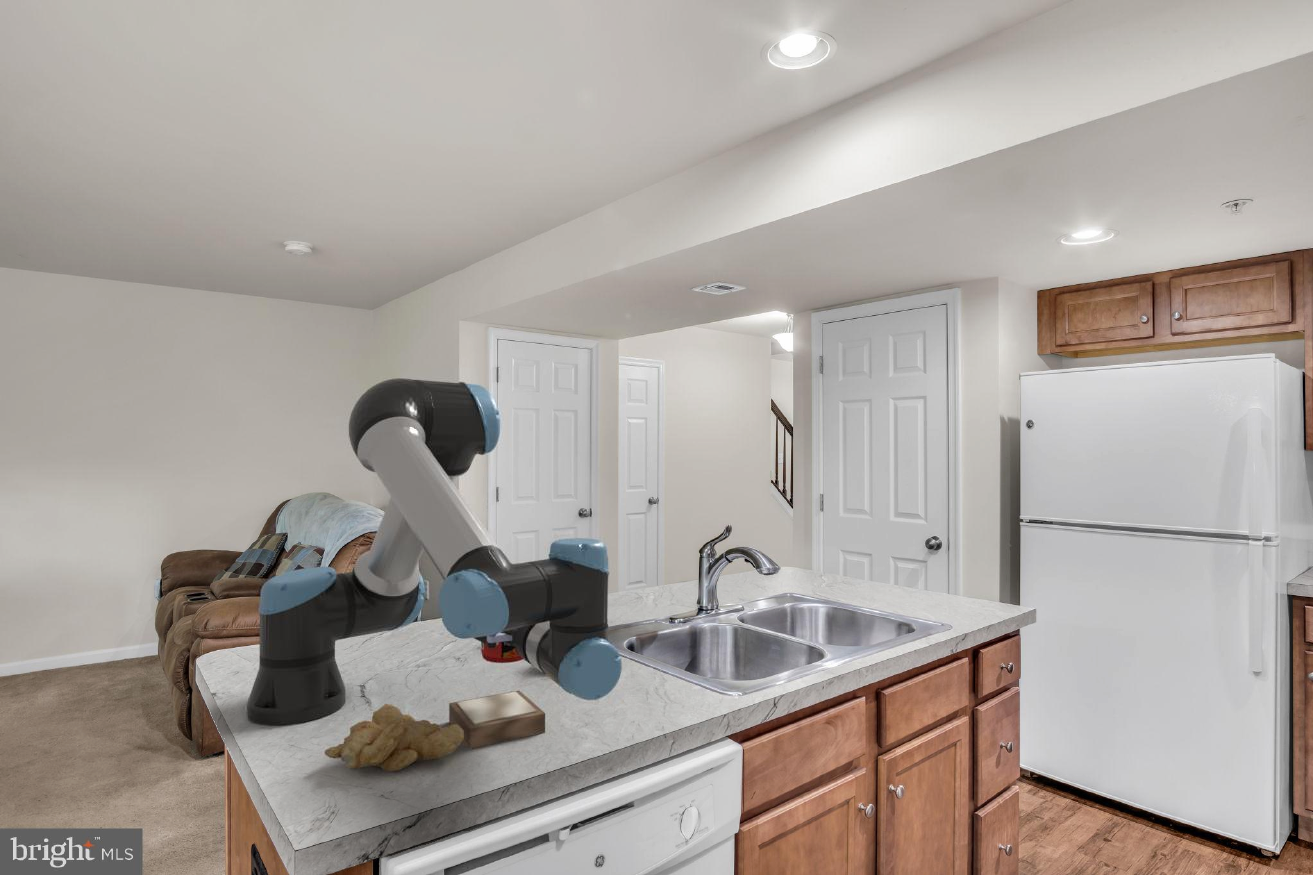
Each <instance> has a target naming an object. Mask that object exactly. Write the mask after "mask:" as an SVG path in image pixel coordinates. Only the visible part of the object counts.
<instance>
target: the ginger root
mask: <svg viewBox="0 0 1313 875" xmlns="http://www.w3.org/2000/svg"><path fill="white" fill-rule="evenodd" d="M371 718H372V719H371V720H362V721H359V722H357V723H355V724H353V725H352V726H351V727H350V729H349V731H350V733H349V735H348V736H346V737H345V738H343V740H344V741H343V743H339V744H338V745H336V746H332V747H329V748H327V749H326V750H325V751H324V754H325V756H327V757H329V758H330V759H331V758H332V759H339V758H340V759H341V760H342V761H343V762H345V763H346V765H347V768H348V769H349V770H357V769H359V768H363V767H372V766H378V767H381V768H382V769H383V770H384V771H387V772H391V773H392V772H398V771H400V770H401V769H404V768H406V767H407V766H409V765H411V764H412V763H414V762H416V761H427V760H428V761H429V760H434V759H437V760H438V759H440V758H443V757H445V756H447V755H450V754H452V753H454V752H455V751H456V749H457V748H458V747H459V746H461V744H462V742H463V741H464V740H463V739H464V731H463V729H462V728H461V727H460V726H459V725H458V724H453V725H451V724H449V725H447V726H444V727H442V728H440V726H439V724H437V723H431V722H430V721H429V720H427V719H421V720H415V718H414V717H413V716H411V715H410V714H403V713H402V712H401V709H399V708H398V707H397V706H394V705H393V704H390V703H384V705H382V706H380V707H379V708H378V709H377V710H376V711H373V713H372V717H371Z"/></svg>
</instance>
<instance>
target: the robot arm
mask: <svg viewBox="0 0 1313 875" xmlns="http://www.w3.org/2000/svg"><path fill="white" fill-rule="evenodd" d="M500 433H501V417H500V412H499V408H498V404H497V402H496V400H495V398H494V397H493V395H492V393H491V392H490V391H489V390H488V389H487V388H486V387H484V386H482V385H481V384H480V385H478V384H472V383H466V382H464V381H459V382H449V381H439V380H438V381H437V380H424V379H411V378H397V377H396V378H391V379H386V380H383V381H381V382H379V383H376V384H375V385H373V386H371V387H370V388H368V389H367V390H366V391H364V393H363V394H362V395H361V396H360V397H359V398H358V400H357V401H356V402H355V405H354V407H353V409H352V411H350V417H349V421H348V438H349V442H350V446H351V448H352V451H353V452H354V454H355V456H356V458H357V459H358V461H359V462H360V464H361V465H362V466H363V467H364V469H366V470H368V471H370V472H373V473H375V474H376V475H377V476H378V478H379V480H380V481H381V483H382V484H383V486H384V487H385V489H386V491H387V492H388V494H389V495H390V498H389V501H388V502H387V506H386V507H385V511H384V512H383V513H384V514H383V516H382V518H381V520H380V524H379V526H378V528H377V531H376V534H375V536H374V538H373V540H372V544H371V546H370V549H369V550H367V551H365V552H363V553H362V554H360V556H359V557H358V558H357V559H356V561H355V563H354V566H353V568H352V570H351V571H348V572H346V571H345V572H339V573H337V572H336V569H335V568H333V567H331V566H314V567H311V568H310V567H305V568H299V569H295V570H291V571H288V572H287V571H286V572H283V573H280V574H278V575H275V576H273V577H271V578H269V579H268V580H267V581H265V582H264V584H263V585H262V587H261V589H260V598H259V599H260V600H259V606H258V613H259V666H258V667H259V668H258V670H257V674H256V677H255V680H254V682H253V685H252V687H251V688H252V689H251V691H250V694H249V697H248V699H247V704H246V718H247V719H248V720H249V721H251V722H252V723H256V724H260V725H268V726H269V725H271V726H272V725H273V726H274V725H277V726H279V725H280V726H281V725H291V724H298V723H299V724H300V723H302V722H303V723H304V722H308V721H309V722H310V721H312V720H316V719H320V718H324V717H326V716H328V715H331V714H333V713H335V712H336V711H339V710H340V709H342V708H343V707H344V705H345V704H346V687H345V683H344V681H343V677H342V675H341V673H340V669H339V666H338V664H337V661H336V641H340V640H345V639H349V638H355V637H356V638H357V637H359V636H360V637H362V636H366V635H371V634H377V633H384V632H388V631H389V632H391V631H394V630H397V629H399V628H402V627H406V626H409V625H410V624H411V623H413V622H414V621H416V619H417V617H418V616H419V615H420V613H421V611H422V608H423V606H424V601H425V597H424V594H425V592H426V589H425V581H424V578H423V576H422V573H421V572H420V569H419V567H418V564H419V561H420V560H421V556H422V555H423V552H424V551H425V553H426V554H427V556H428V557H429V559H430V560H431V562H432V564H433V565H434V567H435V568H436V570H437V572H438V573H439V575H440V576H441V578H442V579H443V582H442V584H441V587H440V589H439V593H438V609H439V611H440V612H441V616H442V617H441V622H442V624H443V626H444V628H445V629H446V631H448V632H449V633H450V634H451V635H452V636H454V637H455V638H458V639H475V641H476V640H477V641H479V642H483V643H485V644H486V645H487V647H488V648H495V647H496V645H498V644H499V642H503V641H505V642H506V643H507V644H509V645H513V646H515V648H516V650H517V652H518V653H519V655H520V656H521V657H522V658H523V660H524V661H525V662H527V663H528V664H530V665H531V666H532V667H533V668H535V669H537V670H538V671H539V672H541V673H543V674H544V675H545V676H546V677H548V678H549V679H551V680H552V681H553V682H554V683H555V684H557V685H558V686H559V687H561V688H562V689H563V691H565V692H566V693H568V694H571V695H573V696H575V697H577V698H580V700H583V701H584V700H586V701H597V700H599V699H603V698H604V697H606V696H607V695H608V694H610V692H612V691H613V690H614V688H615V687H616V685H617V684H618V682H619V680H620V678H621V676H622V675H621V674H622V670H623V662H622V659H621V655H620V653H619V651H618V650H617V648H616V647H615V646H614V645H613V643H612V641H611V642H610V641H609V623H608V614H609V613H608V611H609V610H608V606H609V605H608V604H609V603H608V602H609V601H608V598H609V576H610V571H609V556H608V548H607V545H606V544H605V543H604V542H603V541H601V540H599V539H595V538H588V537H586V538H584V537H581V538H580V537H571V538H561V539H558V540H555V541H553V542H551V544H550V548H549V554H548V558H546V559H545V558H544V559H539V560H533V561H525V562H520V563H519V562H518V563H512V562H510V560H509V558H508V557H507V556H506V554H505V553H504V552H503V551H502V549H500V547H499V545H498V544H497V543H496V541H495V540H494V539H493V537H492V536H491V534H490V533H489V532H488V530H487V529H486V527H485V526H484V524H483V523H482V522H481V521H480V519H479V517H478V516H477V514H476V513H475V512H474V511H473V509H472V508H471V507H470V504H469V503H468V502H467V501H466V499H465V498H464V497H463V495H462V494H461V492H460V491H459V490H458V488H457V486H456V485H455V484H454V481H455V479H456V478H458V477H460V476H464V475H465V474H466V473H467V472H469V470H470V468H471V466H472V463H473V461H474V459H475V456H476V455H480V456H483V455H486V454H489V453H492V451H494V449H495V448H496V446H497V444H498V442H499V438H500V435H501V434H500Z"/></svg>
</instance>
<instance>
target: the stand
mask: <svg viewBox="0 0 1313 875" xmlns="http://www.w3.org/2000/svg"><path fill="white" fill-rule="evenodd" d="M448 704H449V705H448V709H449V710H448V712H449V713H448V714H449V715H448V717H449V718H448V723H450V725H453V724H458V725H459V726H460V727H461V728H462V729H463V731H464V739H463V740H462V741H463V742H464V743H465V744H466V746H467V747H468V748H469V750H471V749H475V748H479V747H484V746H488V745H493V744H499V743H503V742H507V741H511V740H516V739H520V738H524V737H525V738H526V737H529V736H534V735H539V734H543V733H546V712H545V711H544V710H542V709H541V708H540V707H539V706H538V705H537V704H536V703H534V701H532V699H530V698H528V697H527V696H526V695H525V693H523V692H522V691H521V690H520V689H519V690H514V691H509V692H508V691H507V692H503V693H498V694H492V695H486V696H481V697H476V698H475V697H474V698H471V699H465V700H460V701H459V700H458V701H454V702H449V703H448Z"/></svg>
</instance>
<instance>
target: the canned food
mask: <svg viewBox="0 0 1313 875" xmlns="http://www.w3.org/2000/svg"><path fill="white" fill-rule="evenodd" d="M480 642H481V641H480ZM480 648H481V649H480V650H481V652H480V653H481V655H482V656H481V657H482V659H483V660H485V661H486V662H489V663H495V664H508V663H517V662H520V661H523V660H524V659H523V658H522V657H521V656H520V655H519V653H518V652H517V650H516V648H515V646H513V645H509V644H507V643H506V642H505V641H503V642H499V644H498V645H496V647H495V648H488V647H487V645H486V644H485V643H483V642H481V644H480Z"/></svg>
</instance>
